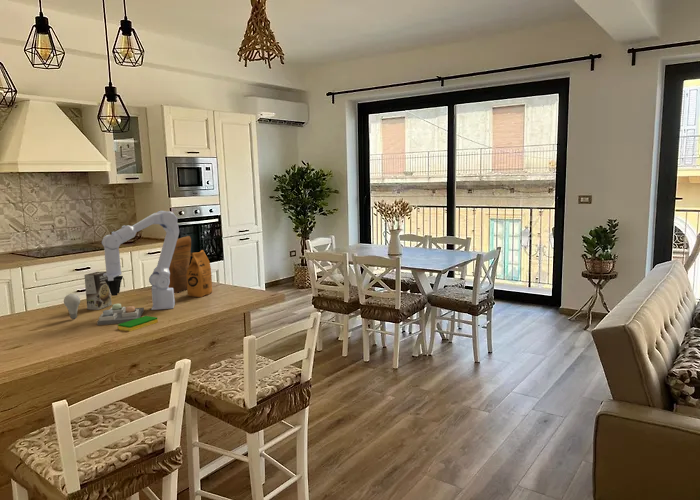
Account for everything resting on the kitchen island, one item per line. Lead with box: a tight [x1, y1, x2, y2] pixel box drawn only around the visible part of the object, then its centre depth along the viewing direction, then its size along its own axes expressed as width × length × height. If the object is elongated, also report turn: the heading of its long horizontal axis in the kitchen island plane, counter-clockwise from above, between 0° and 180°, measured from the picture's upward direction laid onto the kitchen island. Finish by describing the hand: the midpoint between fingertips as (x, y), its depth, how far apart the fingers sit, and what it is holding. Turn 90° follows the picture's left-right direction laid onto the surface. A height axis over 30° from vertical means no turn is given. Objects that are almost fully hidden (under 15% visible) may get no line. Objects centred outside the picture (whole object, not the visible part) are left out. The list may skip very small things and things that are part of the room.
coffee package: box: [186, 249, 213, 298], centre depth 254 cm, size 10×12×22 cm
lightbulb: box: [63, 293, 81, 320], centre depth 213 cm, size 6×6×11 cm
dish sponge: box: [117, 315, 159, 332], centre depth 203 cm, size 7×14×2 cm, turn 153°
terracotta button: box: [125, 305, 136, 313], centre depth 213 cm, size 4×4×2 cm
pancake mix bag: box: [168, 235, 192, 294], centre depth 264 cm, size 7×19×28 cm, turn 157°
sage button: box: [111, 303, 122, 310], centre depth 218 cm, size 4×4×2 cm
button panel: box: [96, 306, 145, 326], centre depth 215 cm, size 15×18×3 cm
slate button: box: [102, 309, 113, 317], centre depth 208 cm, size 4×4×2 cm
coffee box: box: [84, 271, 113, 311], centre depth 233 cm, size 9×6×16 cm
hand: (115, 294), depth 217 cm, fingers open, 4 cm apart
